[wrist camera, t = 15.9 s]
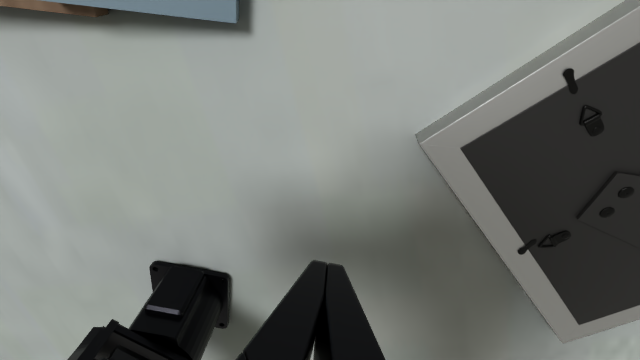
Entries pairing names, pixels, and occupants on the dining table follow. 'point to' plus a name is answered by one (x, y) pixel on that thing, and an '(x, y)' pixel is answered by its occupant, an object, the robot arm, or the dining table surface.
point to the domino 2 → (171, 7)
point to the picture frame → (558, 173)
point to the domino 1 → (56, 7)
